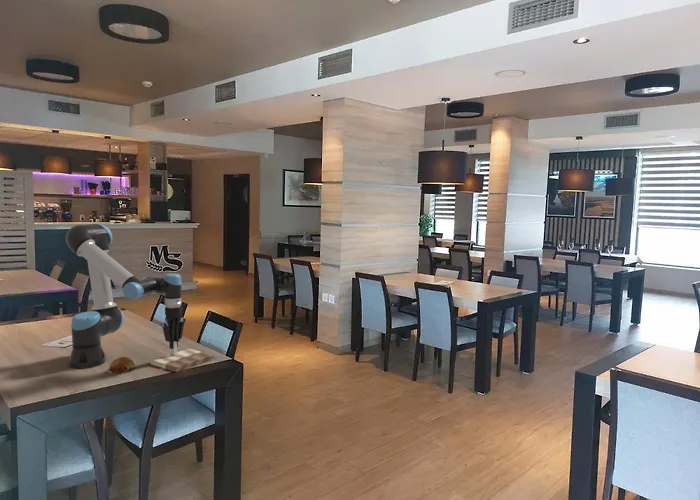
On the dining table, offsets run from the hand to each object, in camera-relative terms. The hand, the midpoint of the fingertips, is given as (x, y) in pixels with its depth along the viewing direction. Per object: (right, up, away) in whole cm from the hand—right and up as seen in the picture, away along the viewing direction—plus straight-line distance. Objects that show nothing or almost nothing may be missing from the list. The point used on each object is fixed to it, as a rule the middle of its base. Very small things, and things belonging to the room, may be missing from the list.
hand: (173, 354), depth 232 cm
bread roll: (-17, -4, -15) cm, 23 cm away
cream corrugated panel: (+2, -2, -1) cm, 3 cm away
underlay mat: (+5, -3, -3) cm, 6 cm away
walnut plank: (+10, -4, -6) cm, 12 cm away
